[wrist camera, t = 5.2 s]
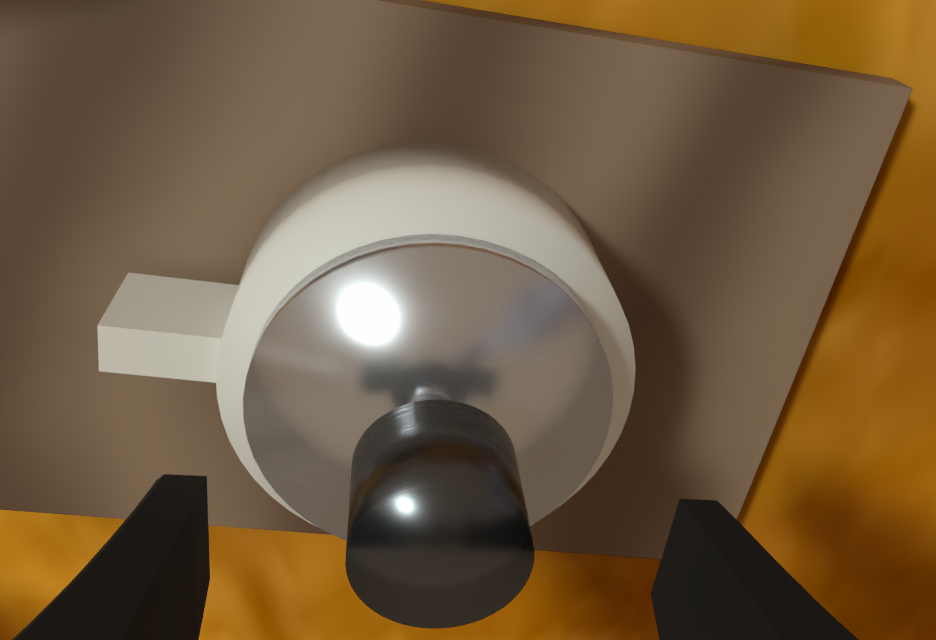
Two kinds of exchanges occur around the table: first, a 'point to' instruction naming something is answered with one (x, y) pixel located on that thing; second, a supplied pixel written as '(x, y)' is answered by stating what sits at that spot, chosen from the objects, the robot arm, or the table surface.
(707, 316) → the board
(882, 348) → the table surface
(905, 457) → the table surface
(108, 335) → the white mug
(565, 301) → the pot lid
